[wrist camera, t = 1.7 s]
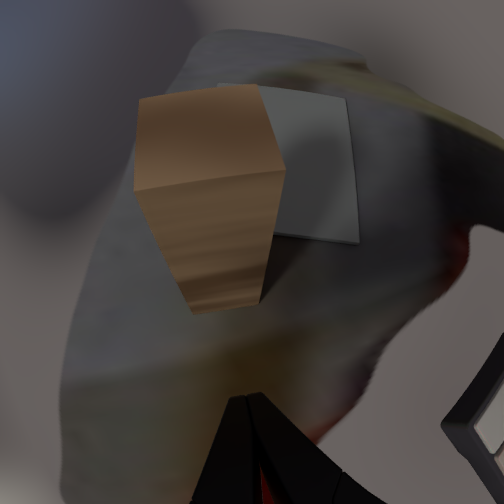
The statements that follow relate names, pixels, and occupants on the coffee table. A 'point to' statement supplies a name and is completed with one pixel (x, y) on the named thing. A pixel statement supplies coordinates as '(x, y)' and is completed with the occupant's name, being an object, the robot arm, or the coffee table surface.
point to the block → (210, 190)
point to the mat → (313, 165)
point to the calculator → (482, 423)
